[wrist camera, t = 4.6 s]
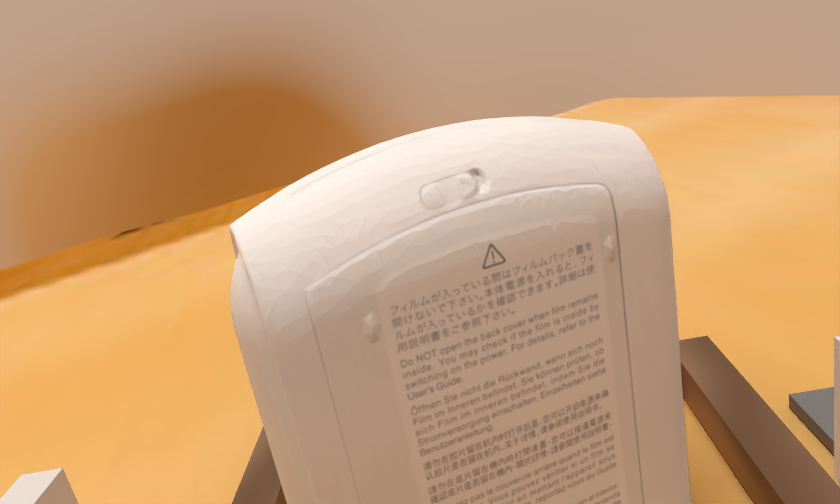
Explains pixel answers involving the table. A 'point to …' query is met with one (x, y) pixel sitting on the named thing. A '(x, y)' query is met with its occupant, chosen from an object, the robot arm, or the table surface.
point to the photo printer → (469, 321)
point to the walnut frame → (717, 412)
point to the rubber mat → (816, 413)
